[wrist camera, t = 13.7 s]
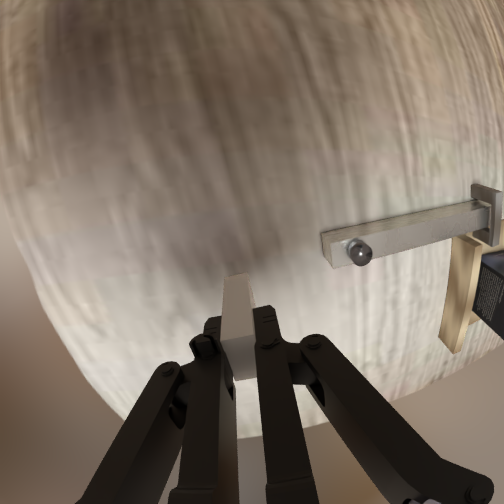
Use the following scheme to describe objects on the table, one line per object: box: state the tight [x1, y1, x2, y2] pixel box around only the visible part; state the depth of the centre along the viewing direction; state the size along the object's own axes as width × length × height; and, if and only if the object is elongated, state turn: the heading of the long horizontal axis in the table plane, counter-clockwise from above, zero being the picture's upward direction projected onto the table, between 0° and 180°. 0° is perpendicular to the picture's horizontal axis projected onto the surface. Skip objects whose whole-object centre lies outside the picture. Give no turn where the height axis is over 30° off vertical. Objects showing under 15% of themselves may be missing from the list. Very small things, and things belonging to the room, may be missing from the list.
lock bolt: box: [321, 200, 491, 269], centre depth 20 cm, size 2×18×3 cm, turn 102°
